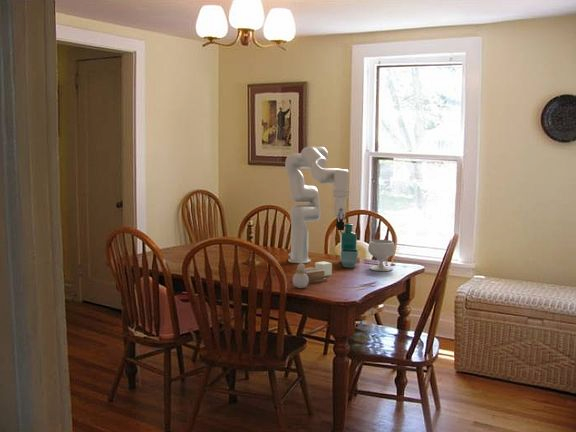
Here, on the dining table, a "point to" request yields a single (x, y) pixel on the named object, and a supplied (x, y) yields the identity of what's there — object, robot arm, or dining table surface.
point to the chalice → (381, 252)
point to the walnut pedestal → (314, 275)
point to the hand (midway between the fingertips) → (340, 228)
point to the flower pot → (349, 257)
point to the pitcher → (348, 238)
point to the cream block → (324, 267)
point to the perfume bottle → (300, 277)
